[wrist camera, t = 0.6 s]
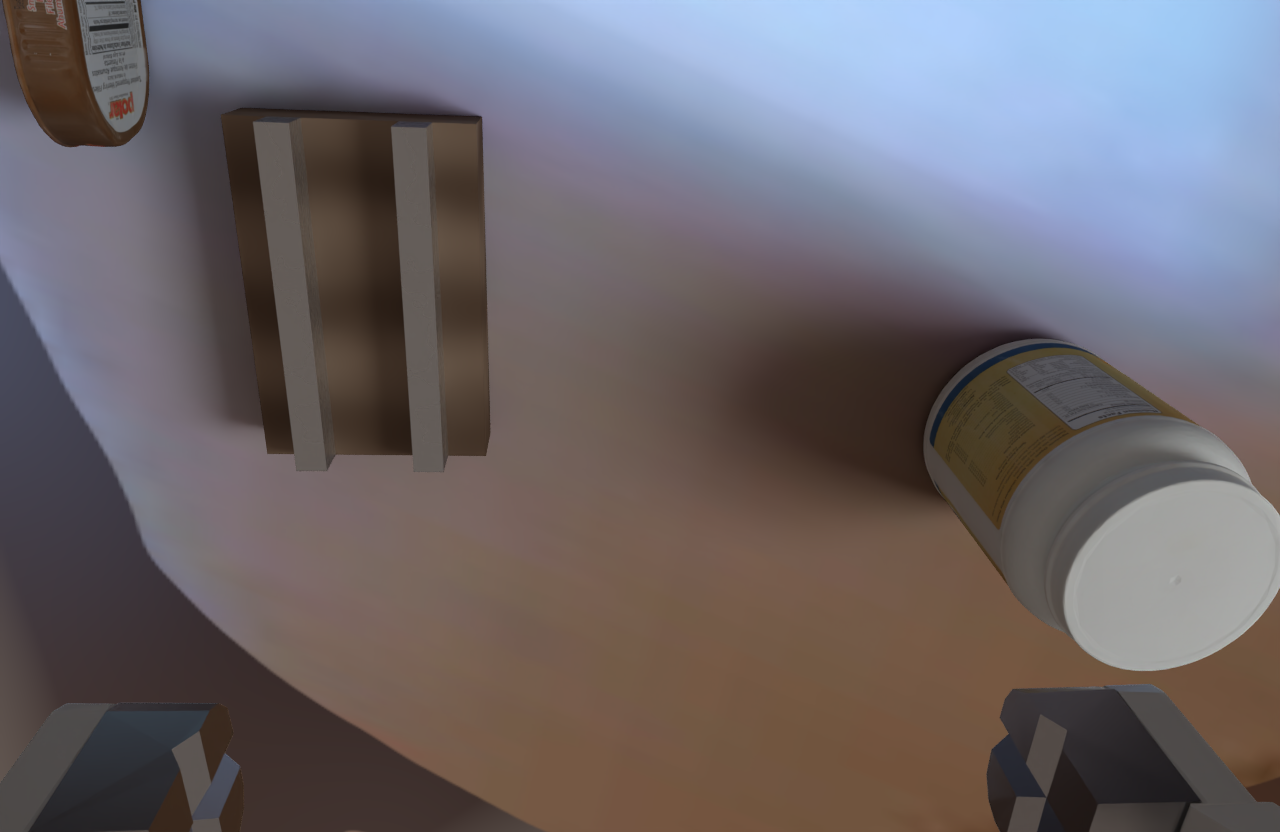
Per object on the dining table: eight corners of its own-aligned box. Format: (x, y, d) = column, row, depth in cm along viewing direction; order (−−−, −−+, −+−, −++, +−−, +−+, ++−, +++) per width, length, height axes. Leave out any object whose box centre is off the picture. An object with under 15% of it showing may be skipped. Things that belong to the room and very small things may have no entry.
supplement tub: (1121, 476, 59) (1313, 645, 44) (935, 532, 60) (1059, 718, 44) (1101, 303, 54) (1311, 425, 39) (899, 367, 55) (1025, 512, 39)
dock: (241, 107, 47) (205, 119, 42) (481, 116, 47) (472, 129, 43) (283, 430, 54) (256, 470, 49) (490, 433, 55) (482, 472, 50)
